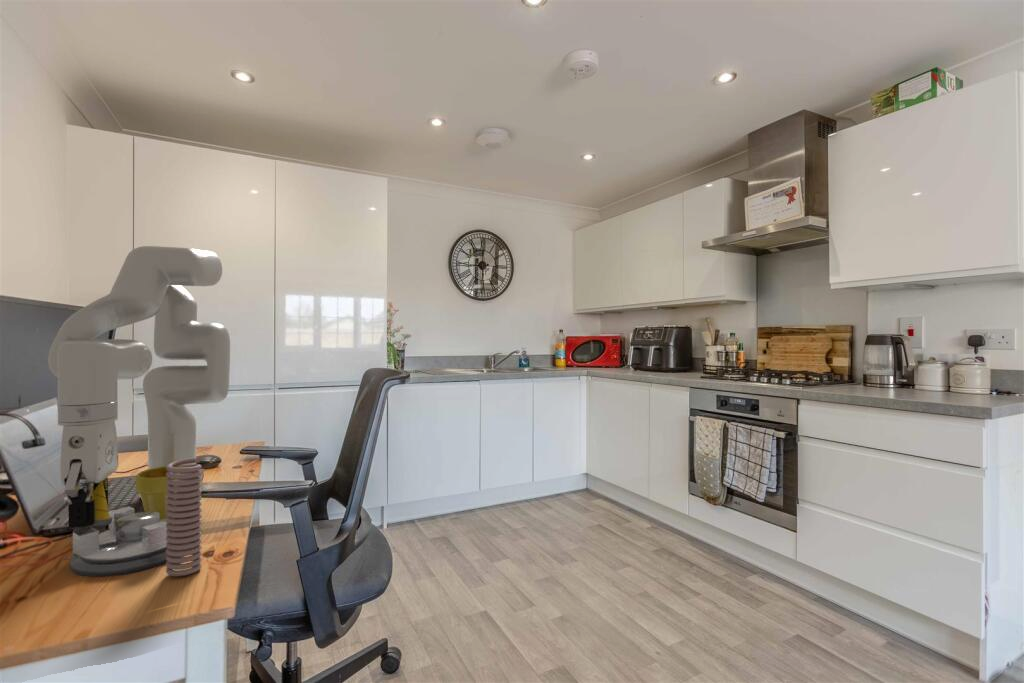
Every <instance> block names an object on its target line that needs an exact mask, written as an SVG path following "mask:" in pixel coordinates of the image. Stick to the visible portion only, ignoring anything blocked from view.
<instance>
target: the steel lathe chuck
mask: <svg viewBox="0 0 1024 683" xmlns="http://www.w3.org/2000/svg"><path fill="white" fill-rule="evenodd" d="M108 512H109V516H110V517H112V522H111V524H109V525H108V530H104V532H102V533H100V534H99V531H98V530H96V529H95V528H93V526H91V527H87V528H86V529H83V530H79V531H75V532H73V531H72V533H73V534H72V552H73V553H75V554H77V555H78V556H79V559H81V560H82V561H84V562H89V563H113V562H121V561H127V560H132V559H137V558H141V557H145V556H149V555H152V554H155V553H158V552H161V551H164V550H166V549H167V547H166V543H167V540H166V536H167V534H166V530H167V528H166V524H167V521H166V519H162V520H160V514H159V512H155V511H147V512H145V511H140V512H139V511H138V512H135V508H133V507H132V506H125V507H121V508H117V509H113V510H108ZM173 512H175V511H173ZM172 525H173V524H172ZM186 538H188V537H186ZM172 544H173V543H172Z"/></svg>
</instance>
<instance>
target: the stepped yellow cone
mask: <svg viewBox="0 0 1024 683" xmlns="http://www.w3.org/2000/svg"><path fill="white" fill-rule="evenodd" d="M104 490H105V489H104V486H103V481H101V482H100V483H99V484H98V486H97V487H96V489H95V490H94V492H93V496H92V500H95V523H94V524H93V525H91V526H83V527H75V528H73V530H72V532H71V533H72V535H73V532H75V531H79V530H83V529H86V528H90V527H93V528H95V529H96V530H98V531H99V534H100V533H103V532H105V531H106V526H107V525H108V526H109V524H111V522H112V517H110V516H109V505H108V506H107V501H106V499H105V498H106V496H105V491H104Z"/></svg>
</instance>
